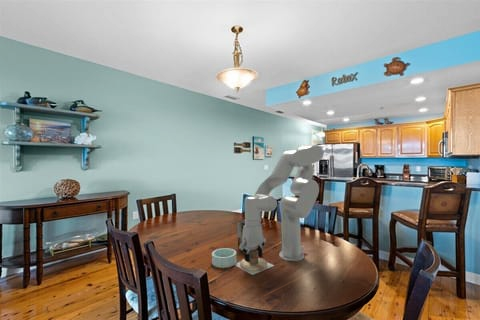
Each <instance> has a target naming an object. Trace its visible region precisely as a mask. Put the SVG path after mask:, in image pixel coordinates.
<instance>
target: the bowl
mask: <svg viewBox="0 0 480 320" xmlns="http://www.w3.org/2000/svg"><path fill="white" fill-rule="evenodd" d="M236 263H238V262H237V251H236V250H235V249H233V248H228V247H227V248H226V247H225V248H224V247H223V248H222V247H221V248H217V249H214V250H213V251H212V252H211V265H212V266H214V267H216V268H220V269H221V268H222V269H223V268H224V269H225V268H231V267H232V266H233V267H234V266H236V265H235V264H236Z"/></svg>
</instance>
